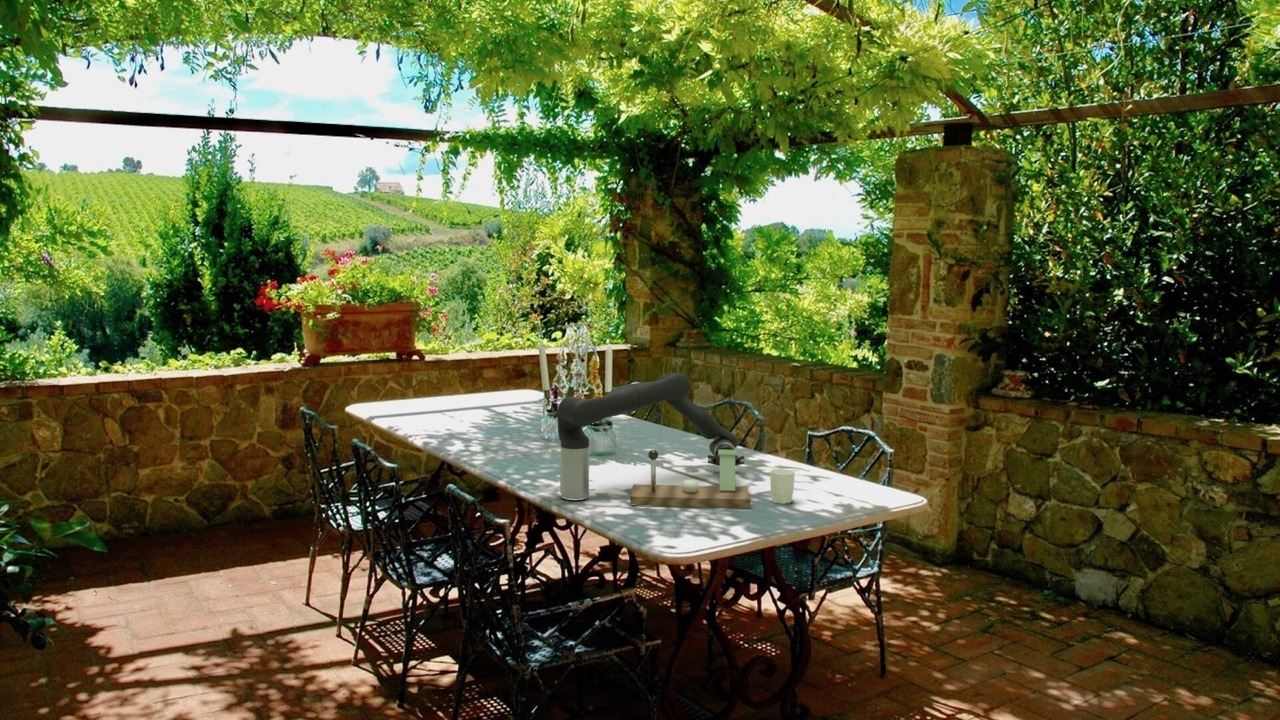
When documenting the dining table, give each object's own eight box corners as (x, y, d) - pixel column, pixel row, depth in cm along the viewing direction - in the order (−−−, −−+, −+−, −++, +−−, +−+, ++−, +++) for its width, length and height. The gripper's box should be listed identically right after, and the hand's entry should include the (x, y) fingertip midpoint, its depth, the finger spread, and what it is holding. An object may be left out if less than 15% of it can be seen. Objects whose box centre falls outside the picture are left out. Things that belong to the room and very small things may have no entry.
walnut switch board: (630, 505, 307) (630, 496, 307) (633, 493, 323) (633, 484, 323) (750, 508, 305) (750, 499, 305) (747, 495, 321) (747, 487, 321)
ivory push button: (682, 492, 311) (682, 482, 311) (682, 488, 316) (682, 479, 316) (698, 492, 311) (698, 483, 311) (698, 489, 316) (698, 479, 316)
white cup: (796, 500, 317) (797, 470, 315) (790, 505, 309) (790, 475, 308) (773, 497, 320) (774, 467, 319) (766, 502, 313) (767, 472, 312)
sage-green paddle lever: (718, 489, 313) (718, 449, 317) (717, 491, 315) (718, 450, 319) (736, 490, 312) (736, 449, 317) (736, 491, 314) (736, 451, 318)
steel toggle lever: (648, 492, 313) (647, 453, 305) (648, 486, 316) (648, 447, 307) (658, 492, 313) (658, 454, 304) (658, 486, 315) (658, 447, 307)
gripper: (706, 443, 335) (707, 453, 317) (744, 444, 334) (747, 454, 317) (705, 464, 335) (706, 475, 318) (743, 465, 335) (746, 476, 318)
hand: (726, 465), depth 318 cm, fingers closed
